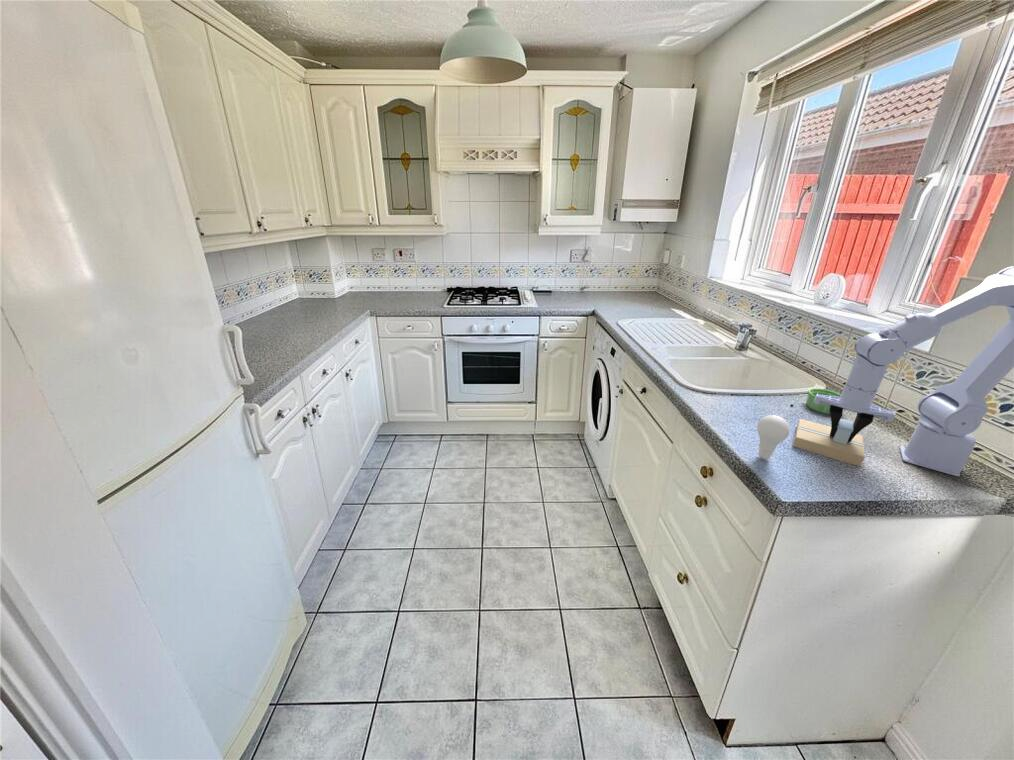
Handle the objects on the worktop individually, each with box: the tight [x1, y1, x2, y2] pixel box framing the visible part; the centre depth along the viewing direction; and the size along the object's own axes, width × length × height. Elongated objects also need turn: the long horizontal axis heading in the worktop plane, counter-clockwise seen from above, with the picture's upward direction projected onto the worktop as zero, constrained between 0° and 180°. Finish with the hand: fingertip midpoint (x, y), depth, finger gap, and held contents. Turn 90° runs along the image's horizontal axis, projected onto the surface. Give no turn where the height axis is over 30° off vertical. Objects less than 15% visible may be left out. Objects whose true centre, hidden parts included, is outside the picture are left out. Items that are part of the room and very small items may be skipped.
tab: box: [833, 418, 854, 445], centre depth 98 cm, size 3×5×4 cm, turn 143°
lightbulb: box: [756, 414, 791, 460], centre depth 92 cm, size 6×6×11 cm
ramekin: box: [805, 387, 842, 415], centre depth 119 cm, size 9×9×4 cm
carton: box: [792, 418, 865, 467], centre depth 100 cm, size 13×12×3 cm
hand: (840, 437), depth 98 cm, fingers closed on tab, 3 cm apart
